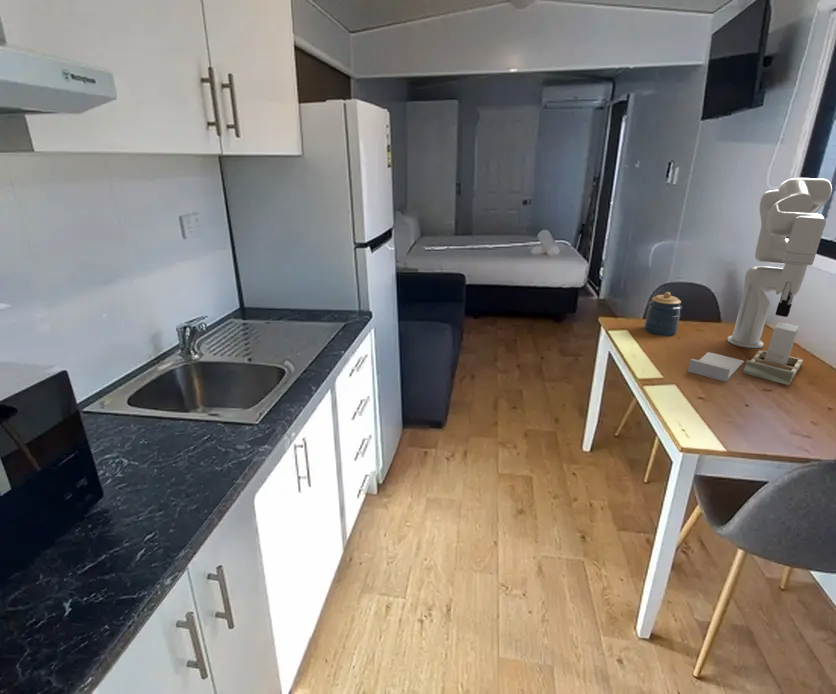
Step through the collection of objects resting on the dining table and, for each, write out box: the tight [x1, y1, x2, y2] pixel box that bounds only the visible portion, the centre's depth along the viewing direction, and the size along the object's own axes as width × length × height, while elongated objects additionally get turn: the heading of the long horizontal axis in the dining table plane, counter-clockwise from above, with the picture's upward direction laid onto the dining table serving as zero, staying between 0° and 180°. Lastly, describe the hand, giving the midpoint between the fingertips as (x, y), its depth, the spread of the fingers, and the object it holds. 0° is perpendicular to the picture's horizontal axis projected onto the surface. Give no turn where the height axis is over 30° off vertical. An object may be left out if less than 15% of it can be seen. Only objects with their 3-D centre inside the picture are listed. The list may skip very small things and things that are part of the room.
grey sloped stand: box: [687, 351, 745, 383], centre depth 176 cm, size 24×12×4 cm, turn 136°
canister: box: [644, 291, 683, 337], centre depth 210 cm, size 13×13×18 cm
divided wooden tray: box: [742, 349, 804, 386], centre depth 175 cm, size 24×13×4 cm, turn 136°
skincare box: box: [764, 321, 800, 365], centre depth 176 cm, size 8×7×16 cm
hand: (781, 315), depth 155 cm, fingers closed
